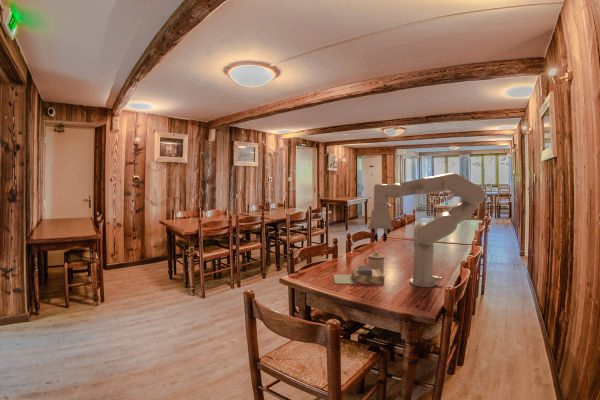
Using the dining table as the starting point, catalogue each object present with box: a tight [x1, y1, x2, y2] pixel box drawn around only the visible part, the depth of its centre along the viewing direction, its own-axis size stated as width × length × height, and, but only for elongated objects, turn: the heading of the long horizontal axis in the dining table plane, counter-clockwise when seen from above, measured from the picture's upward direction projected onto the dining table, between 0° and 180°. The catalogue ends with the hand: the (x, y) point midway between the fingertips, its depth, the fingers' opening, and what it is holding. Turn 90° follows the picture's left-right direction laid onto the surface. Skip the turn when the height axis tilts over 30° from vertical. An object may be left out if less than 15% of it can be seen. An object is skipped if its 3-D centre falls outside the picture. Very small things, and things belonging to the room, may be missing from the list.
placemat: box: [332, 273, 355, 285], centre depth 170 cm, size 10×15×1 cm, turn 178°
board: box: [351, 268, 385, 285], centre depth 169 cm, size 15×13×4 cm
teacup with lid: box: [363, 251, 385, 273], centre depth 186 cm, size 12×9×12 cm
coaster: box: [357, 265, 372, 275], centre depth 169 cm, size 6×9×2 cm, turn 178°
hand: (380, 241), depth 168 cm, fingers open, 3 cm apart
